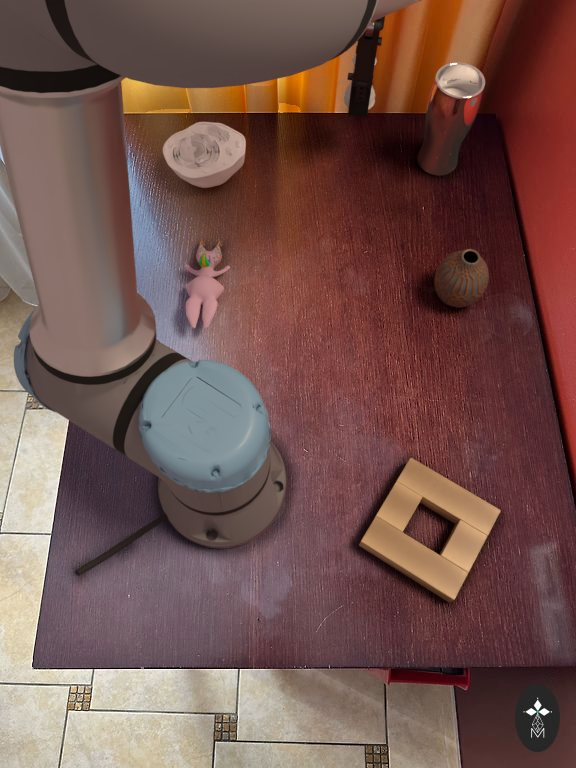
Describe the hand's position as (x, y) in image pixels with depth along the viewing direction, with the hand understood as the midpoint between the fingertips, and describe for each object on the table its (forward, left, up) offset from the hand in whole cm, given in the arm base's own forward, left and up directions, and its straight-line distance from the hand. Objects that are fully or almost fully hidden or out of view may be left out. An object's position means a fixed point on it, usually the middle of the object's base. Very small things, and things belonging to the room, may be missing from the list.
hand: (359, 100), depth 97 cm
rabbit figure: (-33, -8, -9) cm, 35 cm away
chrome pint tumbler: (+8, -10, -9) cm, 16 cm away
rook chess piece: (0, 0, 0) cm, 0 cm away
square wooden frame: (-31, -51, -9) cm, 60 cm away
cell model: (-21, +9, -9) cm, 24 cm away
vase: (-6, -29, -9) cm, 31 cm away
